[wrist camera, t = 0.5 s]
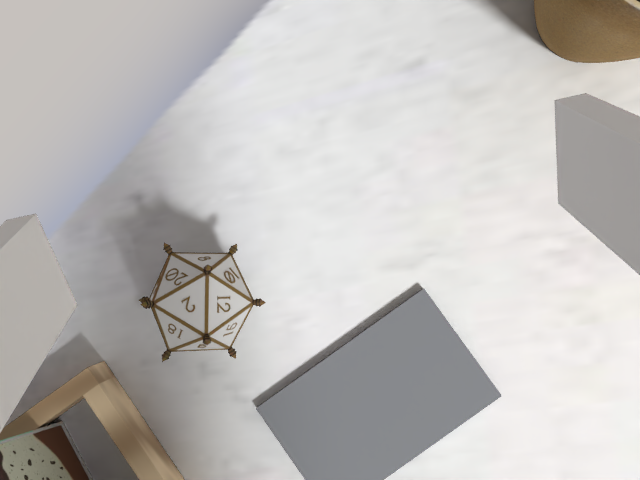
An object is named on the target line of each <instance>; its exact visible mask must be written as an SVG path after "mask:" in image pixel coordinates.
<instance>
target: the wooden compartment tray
mask: <svg viewBox="0 0 640 480" xmlns="http://www.w3.org/2000/svg"><path fill="white" fill-rule="evenodd" d="M84 398H85V400H86V401H87V403H88V404H89V406H90V407H91V409H92V410H93V411H94V413H95V414H96V416H97V417H98V419H99V420H100V422H101V423H102V425H103V426H104V428H105V429H106V431H107V432H108V434H109V435H110V437H111V438H112V440H113V441H114V443H115V444H116V446H117V447H118V449H119V450H120V452H121V453H122V455H123V456H124V458H125V459H126V461H127V462H128V464H129V465H130V467H131V468H132V470H133V471H134V473H135V474H136V476H137V477H138V479H139V480H184V478H183V477H182V475H181V474H180V472H179V471H178V469H177V468H176V466H175V465H174V463H173V462H172V460H171V459H170V457H169V456H168V454H167V453H166V452H165V450H164V449H163V447H162V446H161V444H160V443H159V441H158V440H157V438H156V437H155V435H154V434H153V432H152V431H151V429H150V428H149V426H148V425H147V423H146V422H145V420H144V419H143V417H142V416H141V414H140V413H139V412H138V410H137V409H136V407H135V406H134V404H133V403H132V401H131V400H130V398H129V397H128V395H127V394H126V392H125V391H124V389H123V388H122V386H121V385H120V383H119V382H118V380H117V379H116V377H115V376H114V374H113V373H112V372H111V370H110V369H109V367H108V366H107V364H106V363H105V361H103V362H100V363H98V364H95V365H92V366H90V367H88V368H86V369H85V370H83V371H82V372H81V373H79V374H78V375H76V376H75V377H74V378H72V379H71V380H69V381H68V382H67V383H65V384H64V385H62V386H61V387H60V388H58V389H57V390H55V391H54V392H53V393H51V394H50V395H49V396H47V397H46V398H44V399H43V400H42V401H40V402H39V403H37V404H36V405H35V406H33V407H32V408H30V409H29V410H28V411H26V412H25V413H23V414H22V415H21V416H19V417H18V418H17V419H15V420H14V421H12V422H11V423H10V424H8V425H7V426H5V427H4V428H3V429H2V431H1V433H0V440H3V439H7V438H10V437H13V436H16V435H19V434H23V433H26V432H29V431H32V430H35V429H39V428H42V427H45V426H46V425H48V424H49V423H51V422H52V421H53V420H55V419H56V418H58V417H59V416H60V415H62V414H63V413H65V412H66V411H67V410H69V409H70V408H72V407H73V406H74V405H76V404H77V403H79V402H80V401H81V400H83V399H84Z"/></svg>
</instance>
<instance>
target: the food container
mask: <svg viewBox="0 0 640 480" xmlns="http://www.w3.org/2000/svg"><path fill="white" fill-rule="evenodd" d="M0 480H93V478H92V476H91V474H90V472H89V471H88V469H87V467H86V465H85V463H84V461H83V459H82V457H81V455H80V453H79V452H78V450H77V448H76V446H75V444H74V442H73V440H72V438H71V436H70V434H69V433H68V431H67V429H66V427H65V425H64V423H63V421H61V422H58V423H55V424H51V425H48V426H45V427H42V428H39V429H35V430H32V431H29V432H26V433H23V434H19V435H16V436H13V437H10V438H7V439H3V440H0Z"/></svg>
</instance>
